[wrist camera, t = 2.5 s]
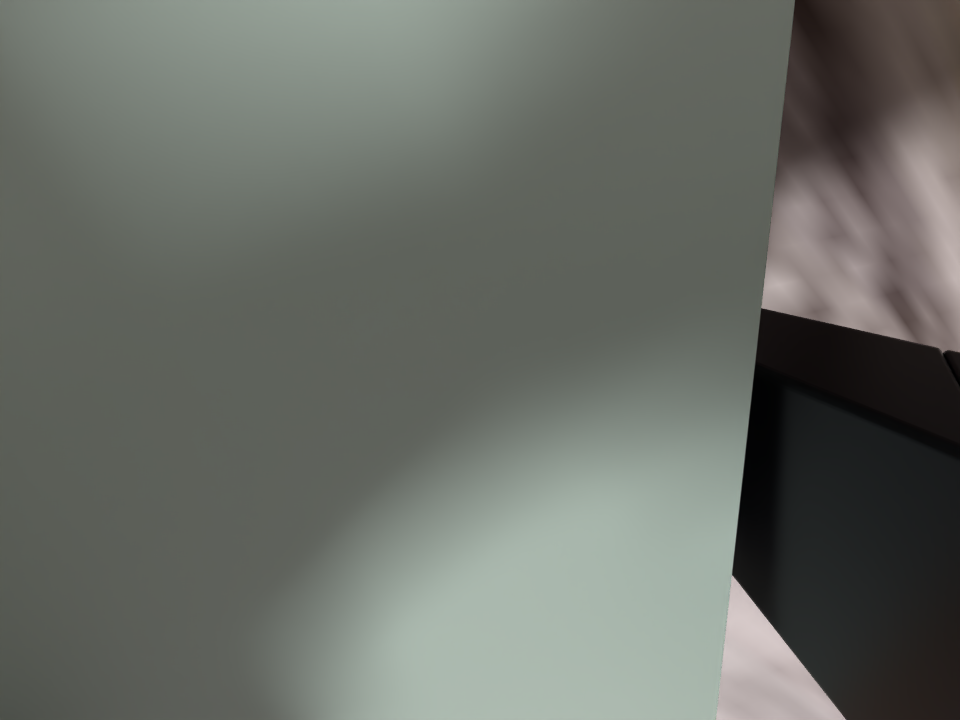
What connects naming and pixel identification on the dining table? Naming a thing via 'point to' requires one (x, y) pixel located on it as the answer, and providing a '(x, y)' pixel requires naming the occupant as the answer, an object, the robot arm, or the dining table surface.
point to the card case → (378, 353)
